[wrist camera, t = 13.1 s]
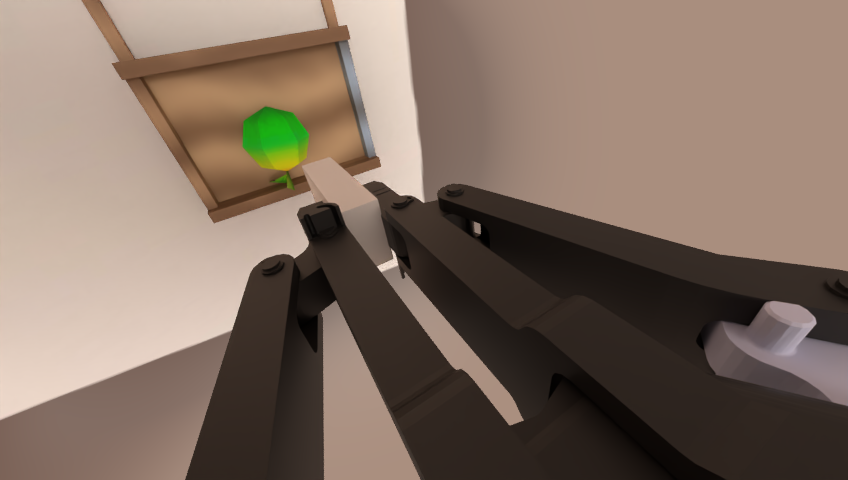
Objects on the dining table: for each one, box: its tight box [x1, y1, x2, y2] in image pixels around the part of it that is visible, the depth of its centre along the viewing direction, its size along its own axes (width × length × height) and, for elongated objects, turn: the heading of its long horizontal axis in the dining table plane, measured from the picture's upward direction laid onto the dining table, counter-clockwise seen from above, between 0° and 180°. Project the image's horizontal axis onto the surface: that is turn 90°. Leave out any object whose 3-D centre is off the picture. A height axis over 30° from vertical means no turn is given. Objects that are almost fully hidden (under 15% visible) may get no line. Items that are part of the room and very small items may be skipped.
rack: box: [82, 0, 381, 223], centre depth 29 cm, size 29×20×4 cm
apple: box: [242, 106, 309, 190], centre depth 33 cm, size 7×6×9 cm
